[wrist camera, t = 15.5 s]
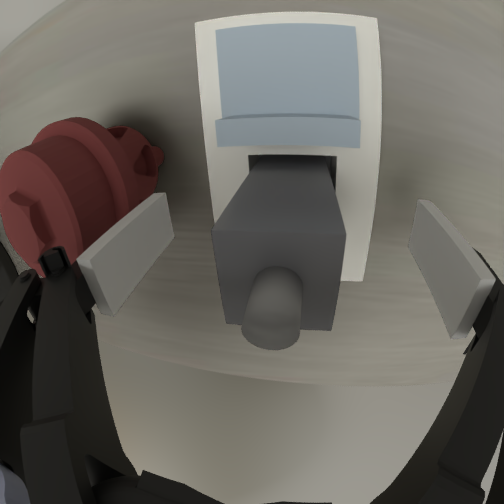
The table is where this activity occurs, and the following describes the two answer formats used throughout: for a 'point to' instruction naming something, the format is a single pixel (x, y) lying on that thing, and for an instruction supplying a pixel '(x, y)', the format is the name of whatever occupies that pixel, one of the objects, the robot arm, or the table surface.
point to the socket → (337, 158)
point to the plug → (281, 250)
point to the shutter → (288, 85)
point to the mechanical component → (74, 186)
